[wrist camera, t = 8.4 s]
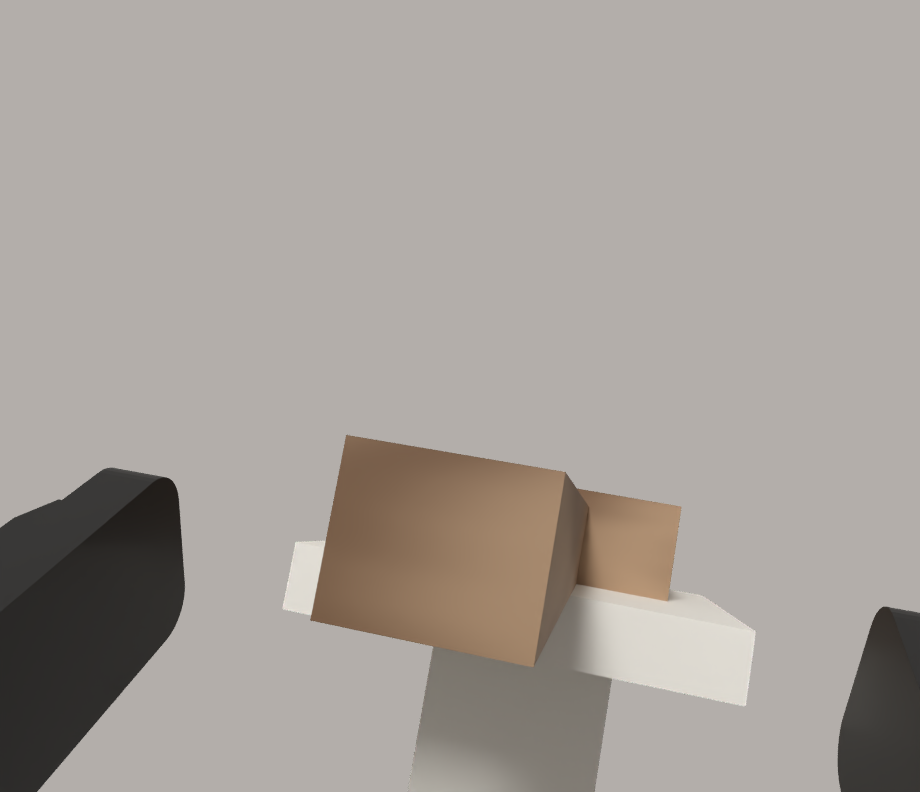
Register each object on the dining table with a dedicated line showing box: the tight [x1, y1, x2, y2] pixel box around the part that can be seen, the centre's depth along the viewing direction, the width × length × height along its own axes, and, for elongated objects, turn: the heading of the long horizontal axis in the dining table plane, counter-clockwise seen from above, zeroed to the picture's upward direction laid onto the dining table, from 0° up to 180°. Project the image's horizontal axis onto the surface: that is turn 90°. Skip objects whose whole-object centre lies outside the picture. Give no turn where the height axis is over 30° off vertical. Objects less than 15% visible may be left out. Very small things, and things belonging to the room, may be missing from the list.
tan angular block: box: [310, 435, 681, 667], centre depth 19 cm, size 7×20×2 cm, turn 171°
